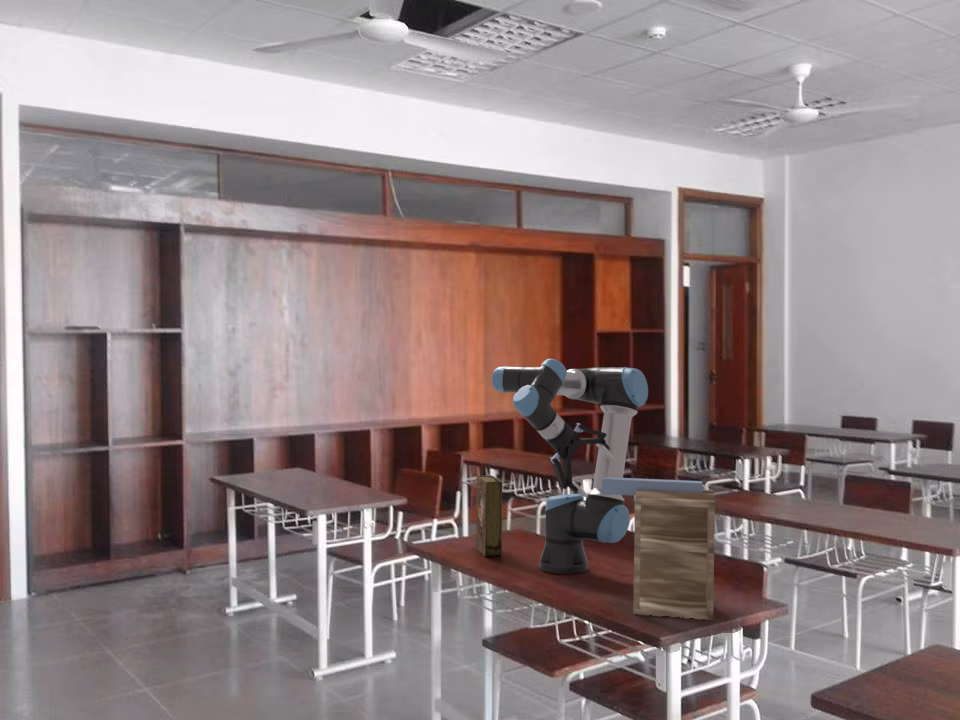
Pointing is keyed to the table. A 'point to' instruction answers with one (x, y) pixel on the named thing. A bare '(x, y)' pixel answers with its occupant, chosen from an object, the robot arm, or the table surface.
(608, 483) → the block
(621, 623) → the table surface
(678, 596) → the shelf stand
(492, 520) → the book
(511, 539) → the table surface
